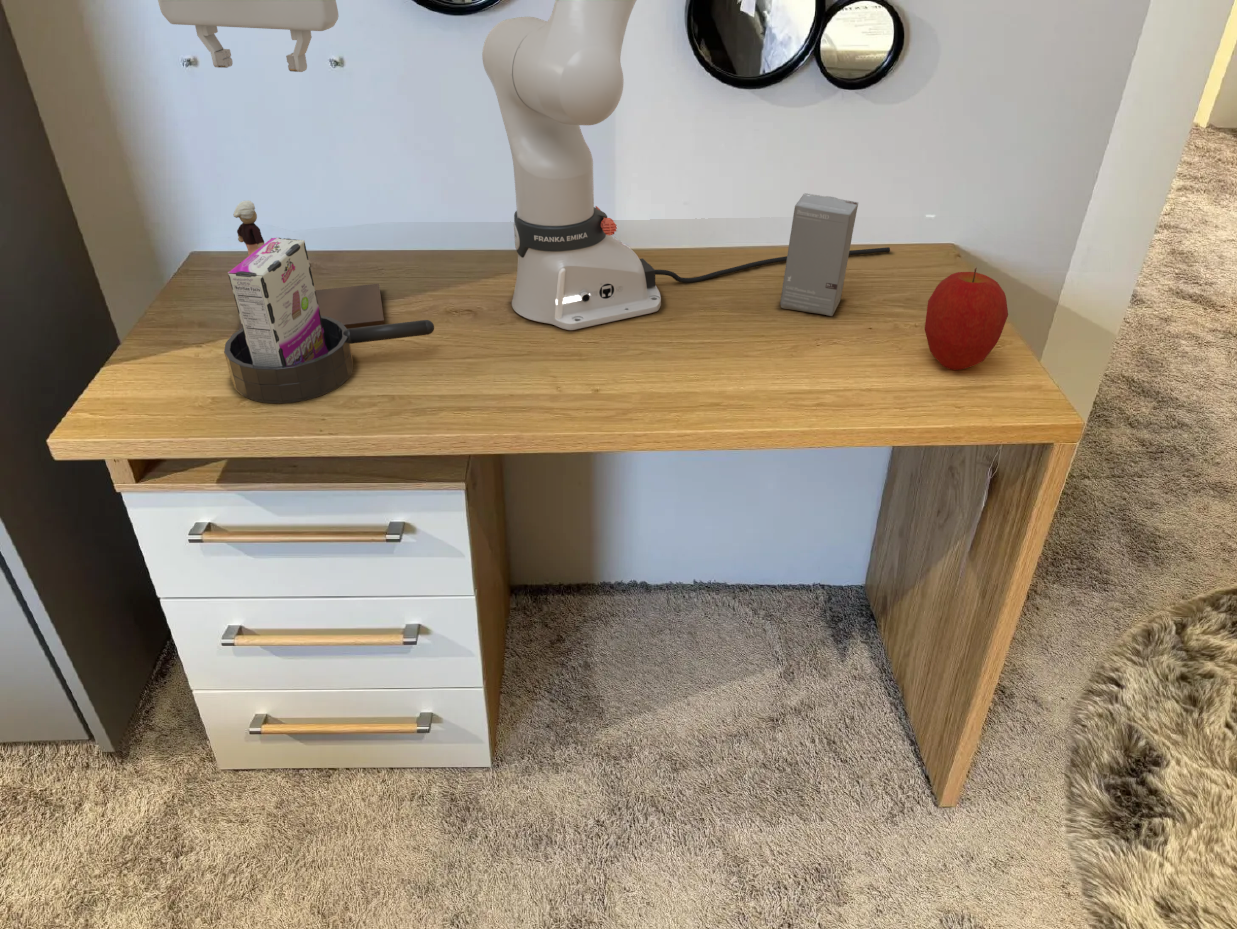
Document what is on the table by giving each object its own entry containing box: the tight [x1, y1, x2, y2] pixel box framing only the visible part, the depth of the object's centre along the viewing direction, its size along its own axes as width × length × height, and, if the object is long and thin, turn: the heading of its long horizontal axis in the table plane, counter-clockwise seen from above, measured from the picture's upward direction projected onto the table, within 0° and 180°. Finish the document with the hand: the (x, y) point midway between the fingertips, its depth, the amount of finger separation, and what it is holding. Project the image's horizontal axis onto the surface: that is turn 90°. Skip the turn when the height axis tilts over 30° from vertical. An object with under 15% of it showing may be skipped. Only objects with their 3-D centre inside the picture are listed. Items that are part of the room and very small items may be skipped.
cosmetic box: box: [779, 192, 859, 317], centre depth 140 cm, size 8×7×16 cm
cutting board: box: [238, 283, 385, 331], centre depth 141 cm, size 20×13×2 cm, turn 105°
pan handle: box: [343, 319, 435, 345], centre depth 128 cm, size 12×2×2 cm, turn 105°
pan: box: [223, 316, 354, 404], centre depth 126 cm, size 15×15×5 cm
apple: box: [924, 267, 1009, 371], centre depth 125 cm, size 10×10×14 cm
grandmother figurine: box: [233, 200, 265, 256], centre depth 149 cm, size 8×4×13 cm, turn 57°
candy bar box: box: [227, 237, 329, 367], centre depth 123 cm, size 11×5×16 cm, turn 168°
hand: (260, 68), depth 111 cm, fingers open, 8 cm apart
